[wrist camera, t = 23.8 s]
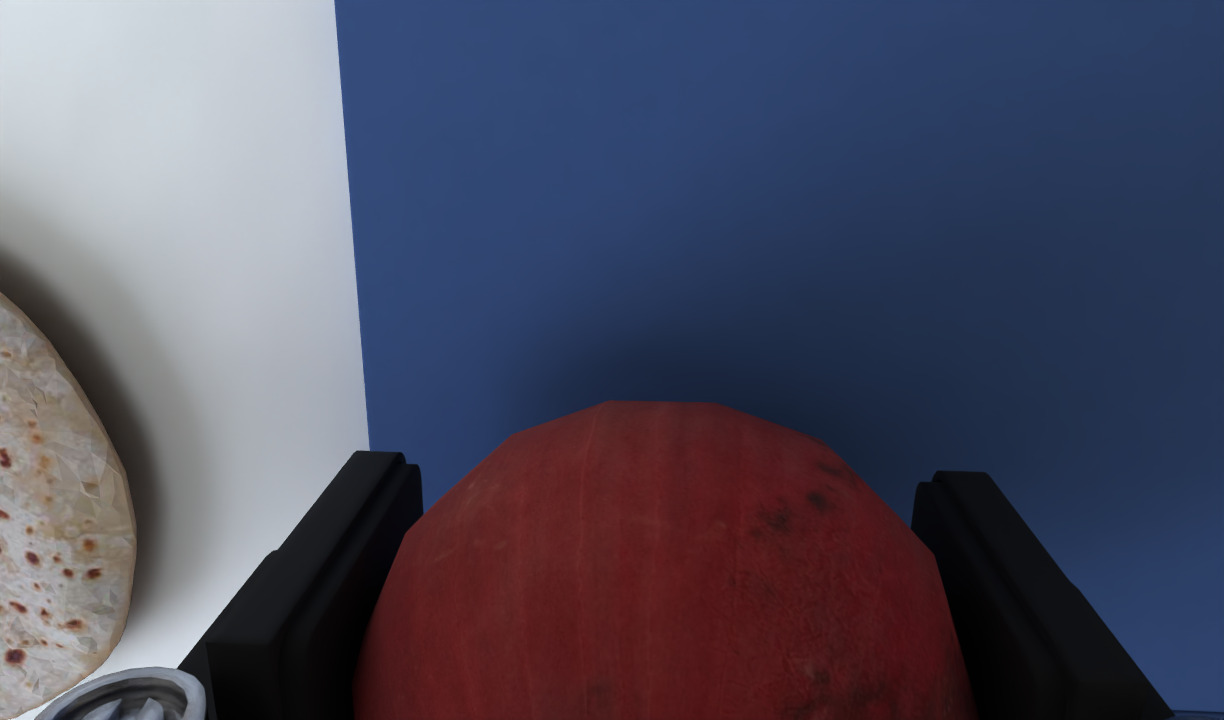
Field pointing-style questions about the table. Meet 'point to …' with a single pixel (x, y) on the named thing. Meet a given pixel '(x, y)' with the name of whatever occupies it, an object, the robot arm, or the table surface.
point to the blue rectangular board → (823, 253)
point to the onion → (662, 584)
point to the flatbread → (56, 525)
